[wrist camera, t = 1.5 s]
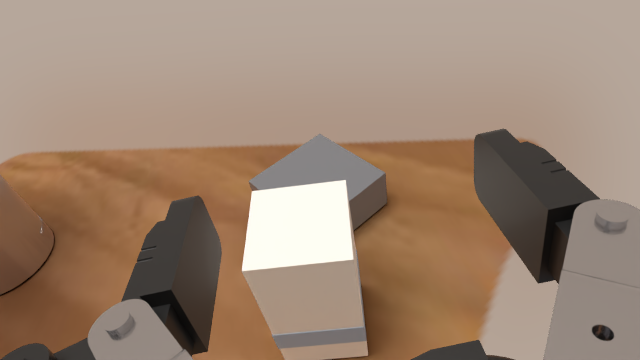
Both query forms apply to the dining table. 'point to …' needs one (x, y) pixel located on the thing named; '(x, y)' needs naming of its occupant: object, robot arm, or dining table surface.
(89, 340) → the robot arm
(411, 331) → the dining table surface
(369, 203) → the block
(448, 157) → the dining table surface
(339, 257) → the milk carton
